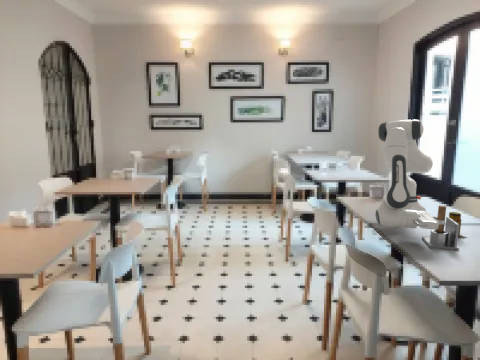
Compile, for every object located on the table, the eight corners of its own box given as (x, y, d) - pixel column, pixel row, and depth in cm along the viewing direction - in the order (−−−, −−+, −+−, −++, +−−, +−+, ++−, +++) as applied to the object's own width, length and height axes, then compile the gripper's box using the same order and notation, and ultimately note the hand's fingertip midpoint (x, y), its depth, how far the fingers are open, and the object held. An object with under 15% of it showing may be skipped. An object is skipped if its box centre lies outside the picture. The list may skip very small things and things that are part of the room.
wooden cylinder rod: (438, 237, 173) (442, 205, 170) (444, 239, 170) (448, 206, 167) (433, 238, 172) (437, 205, 169) (439, 240, 169) (442, 207, 166)
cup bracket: (430, 248, 166) (432, 223, 164) (422, 238, 179) (424, 215, 177) (458, 250, 163) (461, 225, 161) (448, 240, 177) (450, 217, 175)
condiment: (442, 233, 188) (444, 211, 186) (458, 233, 188) (461, 211, 186) (450, 237, 181) (452, 214, 179) (467, 238, 181) (469, 215, 179)
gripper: (417, 218, 162) (451, 220, 159) (407, 207, 181) (436, 209, 178) (416, 231, 163) (450, 234, 160) (406, 219, 182) (435, 221, 179)
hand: (443, 221), depth 169 cm, fingers closed on wooden cylinder rod, 3 cm apart
